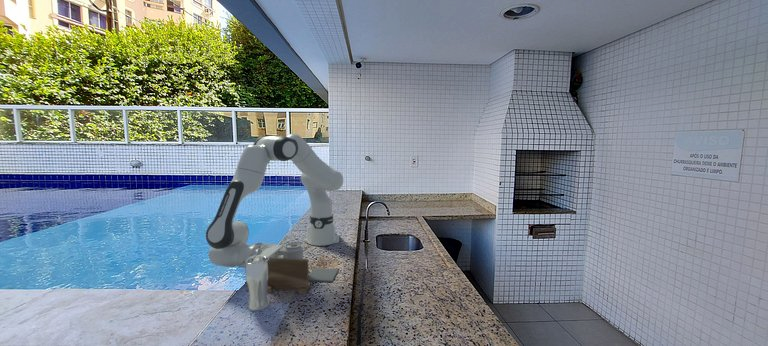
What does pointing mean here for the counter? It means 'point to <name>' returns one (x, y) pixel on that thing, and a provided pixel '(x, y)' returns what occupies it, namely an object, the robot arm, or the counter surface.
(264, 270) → the beer glass
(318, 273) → the slate mat
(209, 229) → the robot arm
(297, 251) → the can
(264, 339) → the counter surface
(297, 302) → the counter surface
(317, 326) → the counter surface
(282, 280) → the walnut screen
